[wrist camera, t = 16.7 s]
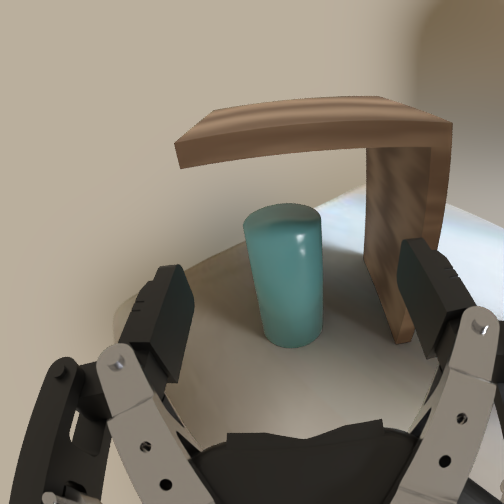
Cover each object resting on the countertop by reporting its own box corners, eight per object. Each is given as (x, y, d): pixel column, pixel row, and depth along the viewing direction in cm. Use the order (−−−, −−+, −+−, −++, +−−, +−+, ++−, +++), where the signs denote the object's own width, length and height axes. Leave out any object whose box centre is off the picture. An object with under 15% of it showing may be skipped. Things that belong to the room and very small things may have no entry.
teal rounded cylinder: (287, 296, 31) (275, 198, 25) (333, 317, 27) (335, 212, 21) (251, 330, 28) (227, 228, 22) (298, 358, 24) (289, 250, 18)
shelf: (410, 341, 23) (452, 123, 13) (237, 361, 25) (174, 143, 15) (374, 256, 34) (378, 96, 23) (245, 270, 36) (213, 110, 25)
